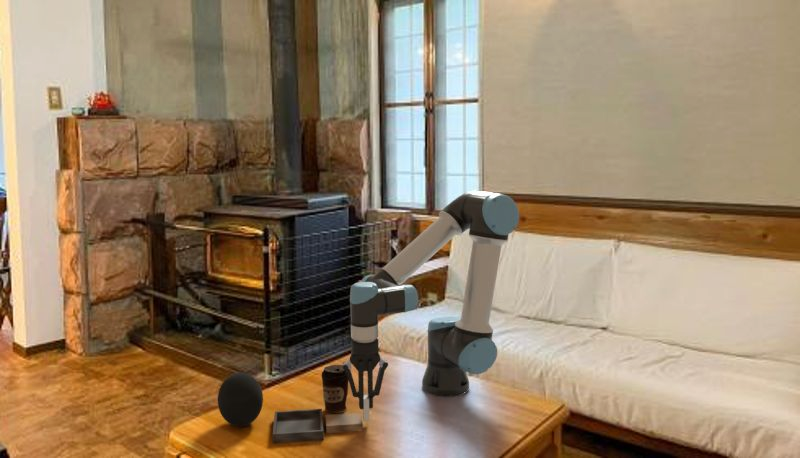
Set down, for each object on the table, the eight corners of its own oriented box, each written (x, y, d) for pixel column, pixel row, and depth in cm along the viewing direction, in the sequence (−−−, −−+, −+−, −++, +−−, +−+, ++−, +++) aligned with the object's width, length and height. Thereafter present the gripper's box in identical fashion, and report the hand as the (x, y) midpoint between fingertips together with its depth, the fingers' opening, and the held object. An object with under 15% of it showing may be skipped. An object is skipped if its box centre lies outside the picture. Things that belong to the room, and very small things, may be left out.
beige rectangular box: (360, 421, 188) (360, 413, 187) (362, 432, 181) (362, 423, 180) (325, 423, 186) (325, 415, 186) (326, 434, 179) (326, 425, 179)
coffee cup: (345, 417, 189) (344, 374, 187) (317, 414, 191) (317, 372, 189) (353, 405, 198) (352, 364, 196) (327, 402, 199) (326, 362, 197)
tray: (321, 416, 189) (321, 408, 189) (323, 439, 175) (323, 431, 175) (275, 419, 187) (274, 411, 187) (272, 443, 173) (272, 434, 173)
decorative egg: (247, 437, 176) (246, 384, 174) (209, 430, 181) (207, 378, 178) (271, 418, 188) (270, 369, 186) (235, 412, 192) (233, 363, 190)
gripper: (386, 333, 184) (387, 411, 188) (340, 335, 183) (342, 415, 186) (389, 341, 177) (390, 423, 181) (341, 344, 175) (343, 426, 179)
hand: (366, 418), depth 183 cm, fingers closed
